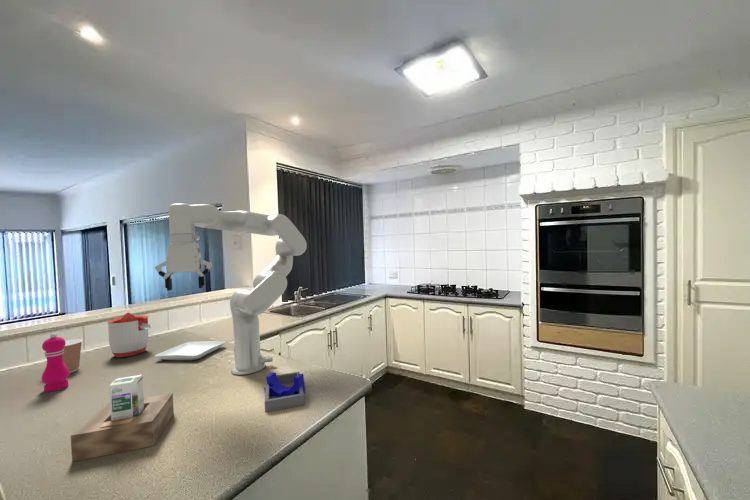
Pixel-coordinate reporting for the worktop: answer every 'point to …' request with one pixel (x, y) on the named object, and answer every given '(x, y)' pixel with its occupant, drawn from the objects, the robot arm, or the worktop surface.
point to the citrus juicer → (128, 335)
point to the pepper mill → (54, 364)
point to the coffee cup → (72, 354)
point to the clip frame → (287, 400)
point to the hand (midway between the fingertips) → (185, 288)
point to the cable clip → (282, 390)
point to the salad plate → (190, 350)
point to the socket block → (122, 429)
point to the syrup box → (126, 397)
